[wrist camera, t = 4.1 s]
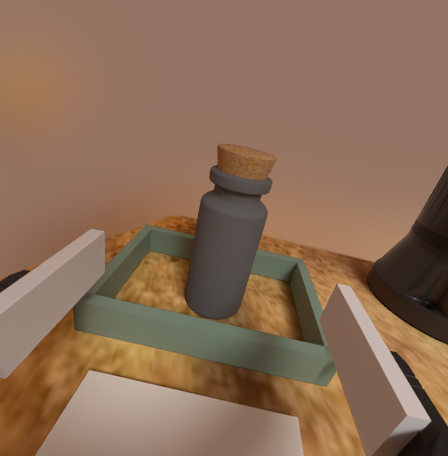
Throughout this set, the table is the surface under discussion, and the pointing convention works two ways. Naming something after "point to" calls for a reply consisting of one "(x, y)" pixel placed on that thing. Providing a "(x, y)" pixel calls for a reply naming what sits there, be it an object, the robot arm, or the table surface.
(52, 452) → the tile
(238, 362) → the green rectangular frame
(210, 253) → the bottle
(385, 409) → the robot arm
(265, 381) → the table surface
